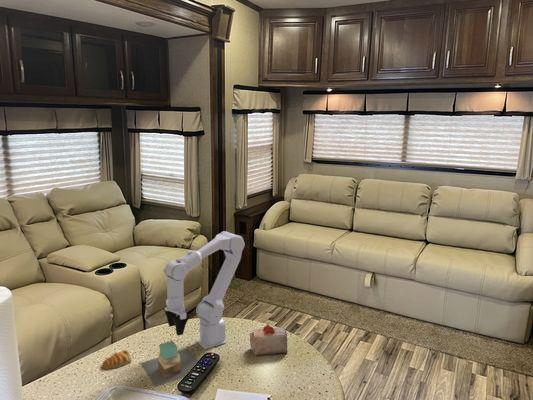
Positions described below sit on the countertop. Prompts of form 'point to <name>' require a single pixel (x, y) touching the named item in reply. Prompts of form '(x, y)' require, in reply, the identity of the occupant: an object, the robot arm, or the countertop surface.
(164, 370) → the tower base
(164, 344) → the teal block
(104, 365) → the pastry
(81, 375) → the countertop surface
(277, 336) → the food item
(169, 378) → the mat
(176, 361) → the tower mid
